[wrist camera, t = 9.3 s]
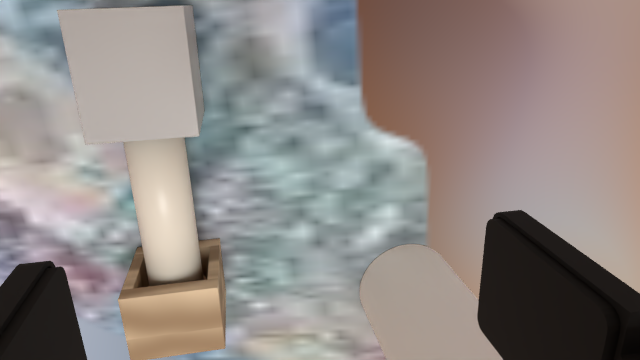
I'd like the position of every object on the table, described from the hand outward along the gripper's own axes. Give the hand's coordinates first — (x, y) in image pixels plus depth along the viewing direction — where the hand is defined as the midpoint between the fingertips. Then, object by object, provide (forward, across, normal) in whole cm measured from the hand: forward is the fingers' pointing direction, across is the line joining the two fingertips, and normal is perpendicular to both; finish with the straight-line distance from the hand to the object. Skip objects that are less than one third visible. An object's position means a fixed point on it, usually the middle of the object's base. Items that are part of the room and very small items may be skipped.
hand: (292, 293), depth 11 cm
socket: (+30, +7, +16) cm, 35 cm away
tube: (+28, +7, +9) cm, 31 cm away
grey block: (+30, +7, -2) cm, 31 cm away
